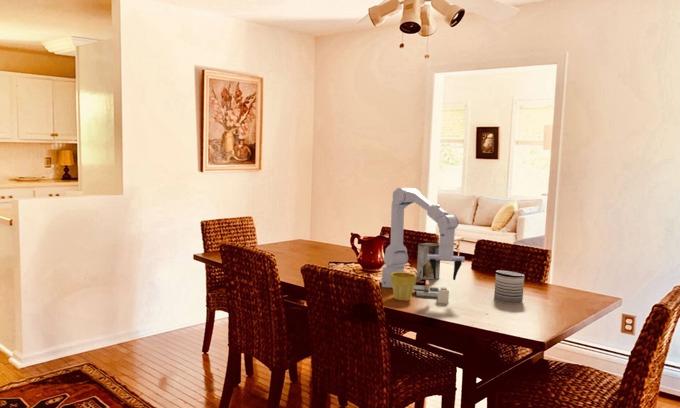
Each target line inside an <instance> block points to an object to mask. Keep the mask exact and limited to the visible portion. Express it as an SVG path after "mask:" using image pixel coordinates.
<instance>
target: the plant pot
mask: <svg viewBox="0 0 680 408" xmlns="http://www.w3.org/2000/svg"><path fill="white" fill-rule="evenodd" d="M417 278H418V277H417V274H414V273H411V272H405V271H404V272H394V273H392V274H391V283H392V286H393V288H392V292H393V299H395V300H397V301H398V300H399V301H409V300H411V298H412V295H413V291H414V290H413V288H414V285H417Z"/></svg>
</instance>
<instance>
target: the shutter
mask: <svg viewBox="0 0 680 408" xmlns="http://www.w3.org/2000/svg"><path fill="white" fill-rule="evenodd" d="M429 286H430V281H429V280H428V279H425V285H421V284H420V285H418V284H415V285H414V288H413V291H416V290H418V291H429Z"/></svg>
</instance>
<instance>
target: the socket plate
mask: <svg viewBox="0 0 680 408" xmlns="http://www.w3.org/2000/svg"><path fill="white" fill-rule="evenodd" d="M441 287H442V286H430V285H429V291H418V290H415V291H416V292H415V293H416V295H415V296H416V298H417V297H418V298H426V299H427V298H428V299H430V298H432V299H438V288H441Z"/></svg>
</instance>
